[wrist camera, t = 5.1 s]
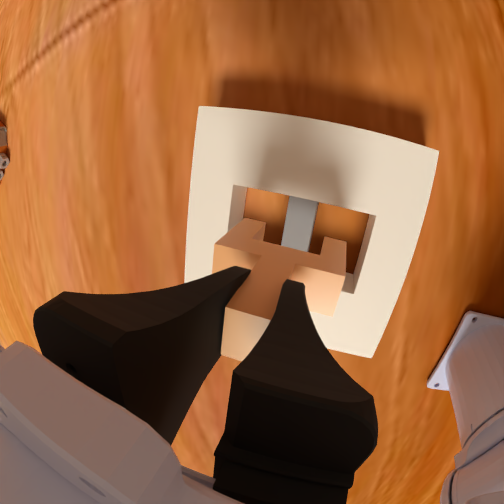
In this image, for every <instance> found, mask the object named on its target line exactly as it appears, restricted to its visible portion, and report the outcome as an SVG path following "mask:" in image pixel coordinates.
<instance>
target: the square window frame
mask: <svg viewBox="0 0 504 504" xmlns="http://www.w3.org/2000/svg"><path fill="white" fill-rule="evenodd" d="M438 155H439V151H437V150H434V149H431V148H428V147H425V146H422V145H419V144H416V143H413V142H409V141H406V140H402V139H399V138H395V137H392V136H388V135H384V134H381V133H377V132H373V131H369V130H365V129H360V128H356V127H352V126H347V125H343V124H338V123H333V122H328V121H323V120H317V119H312V118H306V117H300V116H294V115H287V114H280V113H273V112H265V111H256V110H247V109H236V108H224V107H210V106H199V110H198V117H197V126H196V134H195V143H194V152H193V162H192V172H191V183H190V195H189V208H188V222H187V238H186V257H185V282H184V283H187V282H190V281H193V280H197V279H200V278H203V277H205V276H208V275H211V274H212V266H213V254H214V244H215V243H216V242H217V241H218V240H219V239H220V238H222V237H223V236H224V235H225V234H226V233H227V232H229V231H230V230H231V229H232V228H233V227H234V226H236V225H237V224H238V223H239V222H240V221H242V220H243V216H244V208H245V201H246V193H247V187H250V188H255V189H260V190H265V191H270V192H275V193H280V194H285V195H290V197H289V203H288V209H287V214H286V220H285V225H284V231H283V237H282V242H281V246H285V247H289V248H293V249H297V250H301V251H305V252H308V251H309V247H310V242H311V237H312V233H313V228H314V223H315V218H316V214H317V209H318V204H319V202H322V203H326V204H330V205H335V206H339V207H343V208H347V209H351V210H355V211H359V212H363V213H367V214H369V218H368V222H367V226H366V230H365V234H364V238H363V242H362V245H361V249H360V253H359V256H358V260H357V263H356V267H355V270H354V274H350V273H346V276H345V280H344V283H343V286H342V290H341V293H340V296H339V299H338V302H337V305H336V308H335V311H334V314H333V317H331V316H327V315H323V314H319V313H315V312H311V311H310V315H311V317H312V320H313V323H314V325H315V328H316V330H317V332H318V334H319V336H320V338H321V340H322V342H323V343H324V345H325V347H326V348H328V349H332V350H336V351H341V352H345V353H349V354H354V355H358V356H363V357H368V358H372V356H373V354H374V352H375V350H376V348H377V346H378V344H379V341H380V339H381V337H382V335H383V332H384V330H385V328H386V325H387V323H388V321H389V318H390V316H391V314H392V311H393V309H394V306H395V304H396V301H397V298H398V296H399V293H400V291H401V288H402V285H403V283H404V280H405V277H406V274H407V271H408V268H409V265H410V263H411V260H412V257H413V253H414V250H415V247H416V244H417V241H418V237H419V234H420V231H421V227H422V224H423V220H424V216H425V213H426V209H427V205H428V201H429V197H430V193H431V189H432V184H433V180H434V175H435V171H436V166H437V161H438Z"/></svg>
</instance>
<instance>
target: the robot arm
mask: <svg viewBox="0 0 504 504" xmlns="http://www.w3.org/2000/svg"><path fill="white" fill-rule="evenodd" d="M250 273H251V270H250V269H247V268H243V267H239V266H233V267H229V268H227V269H224V270H221V271H219V272H216V273H213V274H211V275H208V276H205V277H203V278H200V279H197V280H193V281H190V282H187V283H184V284H181V285H177V286H173V287H169V288H164V289H159V290H154V291H147V292H138V293H129V294H86V293H75V292H66V291H64V292H62V293H60V294H59V295H57V296H56V297H54V298H53V299H51V300H50V301H48V302H47V303H45V304H44V305H42V306H41V307H39V308H38V309H37V310H35V313H34V317H33V324H34V330H35V334H36V337H37V340H38V343H39V346H40V349H41V352H42V354H40V353H39V352H38V351H36V350H35V349H34V348H32V347H30V346H28V345H26V344H24V343H22V342H19V341H16V342H14V343H13V344H12V345H10V346H9V347H8V348H6V349H4V348H3V347H2V346H1V345H0V504H346V501H347V494H348V489H350V488H351V487H352V485H353V481H354V473H355V471H356V470H357V469H358V468H359V467H360V466H361V465H362V464H363V462H364V461H365V460H366V459H367V458H368V457H369V456H370V455H371V453H372V452H373V450H374V449H375V447H376V445H377V438H378V422H377V415H376V409H375V404H374V399H373V396H372V395H371V394H369V393H368V392H367V391H366V390H365V389H364V388H362V387H361V386H360V385H359V384H358V383H356V382H355V381H354V380H353V379H352V378H351V377H350V376H349V375H348V374H347V373H346V372H345V371H344V370H343V369H342V368H341V367H340V365H339V364H338V363H337V362H336V361H335V359H334V358H333V357H332V355H331V354H330V353H329V351H328V350H327V348H326V347H325V345H324V343H323V342H322V340H321V338H320V336H319V334H318V332H317V330H316V328H315V325H314V323H313V320H312V317H311V315H310V311H309V308H308V305H307V300H306V295H305V285H304V283H301V282H297V281H293V280H289V279H286V281H285V282H284V283H283V285H282V289H281V292H280V296H279V300H278V303H277V307H276V310H275V313H274V315H273V318H272V319H271V321H270V323H269V325H268V326H267V328H266V330H265V331H264V333H263V335H262V336H261V338H260V339H259V341H258V342H257V344H256V345H255V346H254V348H253V349H252V350H251V352H250V353H249V354H248V355H247V356H246V358H245V359H244V360H243V361H242V362H241V363H240V364H239V365H238V366H237V367H236V368H235V369H234V370H233V375H232V382H231V389H230V396H229V403H228V410H227V417H226V424H225V431H224V433H223V436H222V438H221V440H220V442H219V444H218V446H217V448H216V450H215V452H214V456H215V465H214V474H213V478H212V477H209V476H207V475H204V474H201V473H199V472H196V471H194V470H191V469H189V468H186V467H184V466H182V465H180V462H179V460H178V458H177V456H176V455H175V453H174V451H173V449H172V448H171V444H172V442H173V440H174V438H175V436H176V434H177V432H178V430H179V428H180V426H181V424H182V422H183V420H184V418H185V416H186V414H187V412H188V410H189V408H190V406H191V404H192V402H193V400H194V398H195V396H196V394H197V393H198V391H199V389H200V387H201V385H202V383H203V382H204V380H205V378H206V377H207V375H208V374H209V372H210V371H211V369H212V368H213V366H214V365H215V363H216V362H217V361H218V359H219V358H220V356H221V346H222V336H223V326H224V316H225V307H226V305H227V304H228V303H229V301H230V300H231V298H232V297H233V296H234V294H235V293H236V291H237V290H238V289H239V288H240V287H241V286H242V284H243V283H244V281H245V280H246V279H247V277H248V276H249V274H250ZM474 317H476V318H475V319H474V320H472V319H473V318H474ZM436 383H438V384H436ZM427 387H428V388H432V389H440V390H448V391H450V395H451V399H452V403H453V407H454V412H455V416H456V421H457V426H458V430H459V436H460V441H461V447H462V450H461V451H460V452H459V453H458V454H456V455H455V456H454V459H455V467H456V468H455V469H454V470H452V471H451V472H450V473H449V474H448V475H447V477H446V479H445V481H444V484H443V487H442V491H441V496H440V504H504V319H503V318H499V317H494V316H490V315H486V314H482V313H477V312H473V311H468V312H467V313H465V315H464V317H463V319H462V321H461V323H460V325H459V327H458V329H457V331H456V332H455V334H454V336H453V338H452V340H451V342H450V344H449V346H448V347H447V349H446V351H445V353H444V354H443V356H442V358H441V360H440V361H439V363H438V365H437V366H436V368H435V370H434V371H433V373H432V375H431V376H430V378H429V379H428V381H427Z"/></svg>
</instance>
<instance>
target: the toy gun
mask: <svg viewBox="0 0 504 504" xmlns="http://www.w3.org/2000/svg"><path fill="white" fill-rule="evenodd" d="M6 131H7V130H6V127H5V126H4V125H3V124H2V122H1V121H0V184H1V180H2V178H3V176H4V174H3V169H4V168H6V167H7V166H8V164H9V163H10V162H9V159H8V157H7V156H6V152H7V147H8V143H7V139H6Z"/></svg>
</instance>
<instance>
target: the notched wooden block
mask: <svg viewBox="0 0 504 504" xmlns="http://www.w3.org/2000/svg"><path fill="white" fill-rule="evenodd" d="M265 226H266V222H261V221H257V220H253V219H248V218H244V219H243V220H242V221H240V222H239V223H238V224H237V225H236V226H234V227H233V228H232V229H231V230H230V231H229V232H227V233H226V234H225V235H224V236H223V237H222V238H220V239H219V240H218V241H217V242H216V243H215V244H214V254H213V266H212V274H213V273H216V272H219V271H221V270H224V269H227V268H229V267H233V266H239V267H243V268H247V269H250V270H251V273H250V274H249V276H248V277H247V279H246V280H245V281H244V283H243V284H242V286H241V287H240V288H239V289H238V290H237V291H236V293H235V294H234V296H233V297H232V298H231V300H230V301H229V303H228V304H227V305H226V307H225V316H224V326H223V336H222V346H221V355H224V356H227V357H230V358H233V359H236V360H239V361H243V360H244V359H245V358H246V356H247V355H248V354H249V353H250V352H251V350H252V349H253V348H254V346H255V345H256V344H257V342H258V341H259V339H260V338H261V336H262V335H263V333H264V331H265V330H266V328H267V326H268V325H269V323H270V321H271V319H272V318H273V315H274V313H275V310H276V307H277V303H278V300H279V296H280V292H281V289H282V285H283V283H284V282H285V281H286V279H289V280H293V281H297V282H301V283H304V285H305V295H306V300H307V305H308V308H309V311H311V312H315V313H319V314H323V315H327V316H331V317H333V314H334V311H335V308H336V305H337V302H338V299H339V296H340V293H341V290H342V286H343V283H344V280H345V276H346V243H347V242H345V241H341V240H337V239H333V238H329V237H325V236H324V241H323V245H322V249H321V253H320V255H317V254H313V253H309V252H305V251H301V250H297V249H293V248H289V247H285V246H281V245H277V244H273V243H268V242H264V241H263V238H264V232H265Z"/></svg>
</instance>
